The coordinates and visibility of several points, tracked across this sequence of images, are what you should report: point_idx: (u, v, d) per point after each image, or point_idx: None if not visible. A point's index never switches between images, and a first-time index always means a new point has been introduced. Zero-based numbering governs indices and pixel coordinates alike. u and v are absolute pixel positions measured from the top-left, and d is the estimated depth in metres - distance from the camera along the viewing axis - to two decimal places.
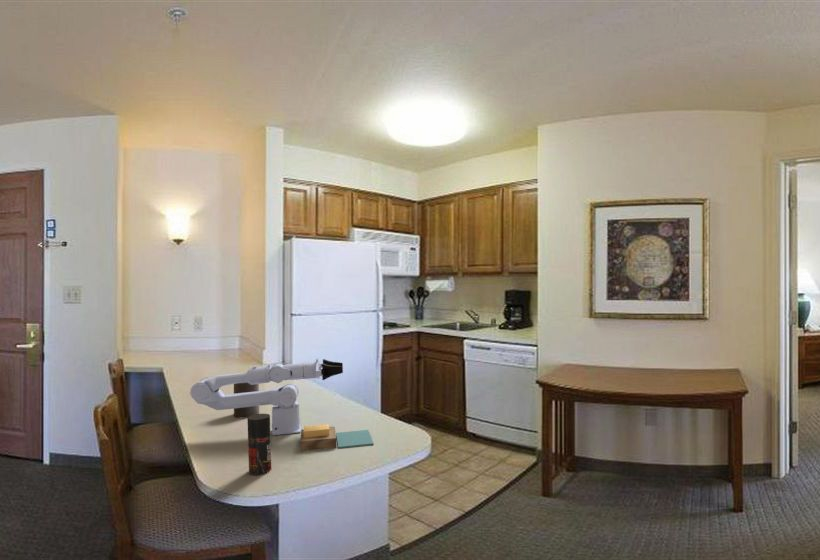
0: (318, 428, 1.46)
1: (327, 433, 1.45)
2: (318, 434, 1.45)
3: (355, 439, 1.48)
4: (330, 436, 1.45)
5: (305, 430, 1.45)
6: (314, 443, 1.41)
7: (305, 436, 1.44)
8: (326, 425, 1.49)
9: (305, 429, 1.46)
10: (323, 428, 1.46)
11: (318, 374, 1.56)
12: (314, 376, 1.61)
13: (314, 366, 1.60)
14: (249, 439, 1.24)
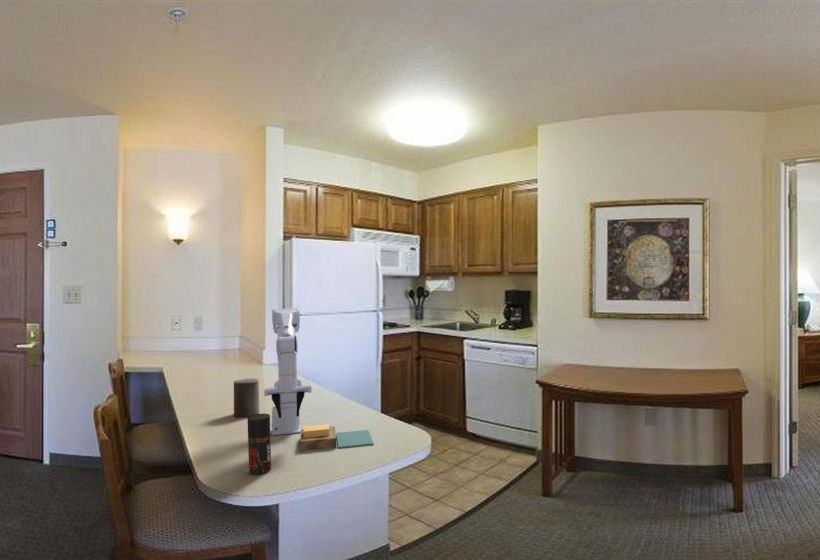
0: (318, 428, 1.46)
1: (327, 433, 1.45)
2: (318, 434, 1.45)
3: (355, 439, 1.48)
4: (330, 436, 1.45)
5: (305, 430, 1.45)
6: (314, 443, 1.41)
7: (305, 436, 1.44)
8: (326, 425, 1.49)
9: (305, 429, 1.46)
10: (323, 428, 1.46)
11: None
12: None
13: (280, 387, 1.43)
14: (249, 439, 1.24)
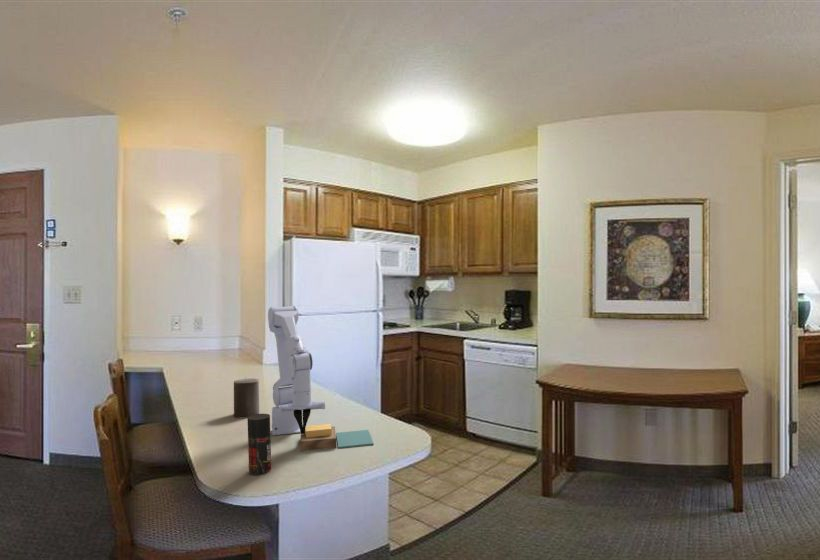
0: (321, 428, 1.46)
1: (329, 433, 1.45)
2: (320, 434, 1.45)
3: (355, 439, 1.48)
4: (330, 436, 1.45)
5: (307, 430, 1.45)
6: (314, 443, 1.41)
7: (307, 436, 1.44)
8: (328, 425, 1.49)
9: (307, 429, 1.46)
10: (325, 428, 1.46)
11: None
12: None
13: (294, 403, 1.44)
14: (249, 439, 1.24)
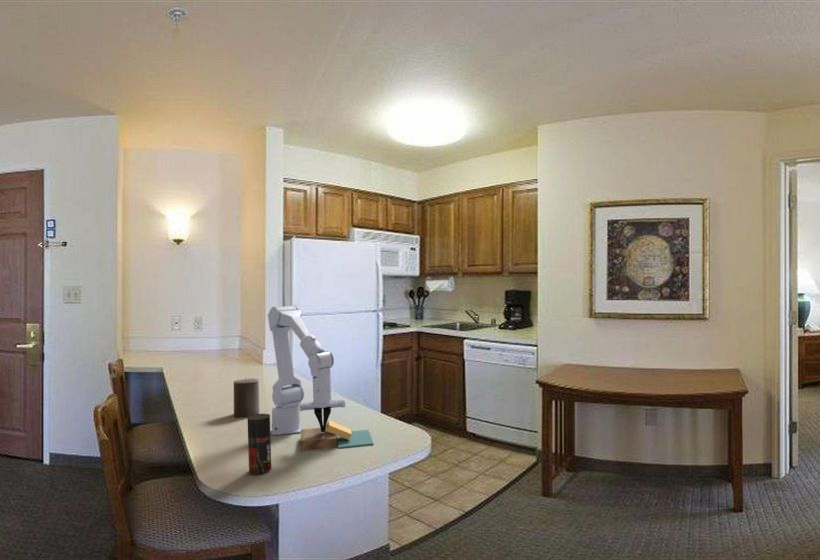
0: (342, 429, 1.47)
1: (348, 437, 1.47)
2: (340, 434, 1.46)
3: (355, 439, 1.48)
4: (330, 436, 1.45)
5: (330, 424, 1.46)
6: (314, 443, 1.41)
7: (328, 430, 1.45)
8: (348, 429, 1.51)
9: (330, 424, 1.47)
10: (346, 431, 1.48)
11: None
12: None
13: (315, 402, 1.46)
14: (249, 439, 1.24)
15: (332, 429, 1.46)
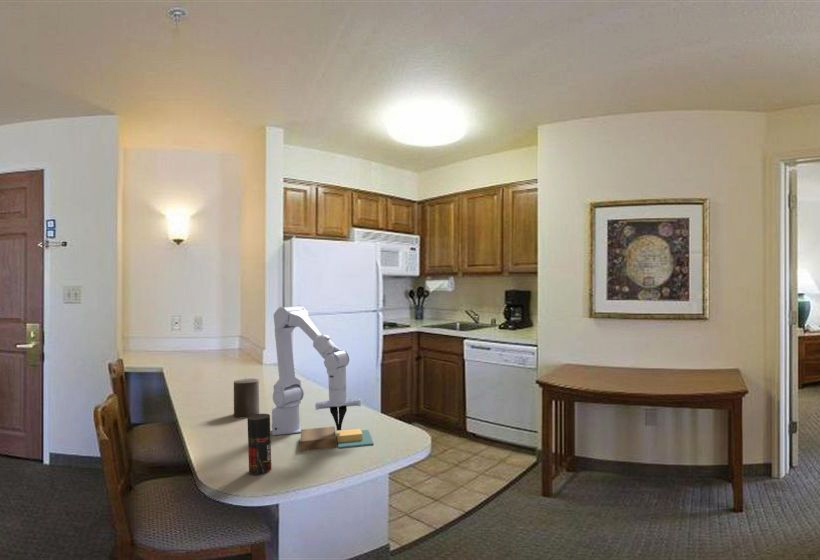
0: (352, 433, 1.48)
1: (360, 438, 1.47)
2: (351, 439, 1.47)
3: None
4: (330, 436, 1.45)
5: (339, 435, 1.47)
6: (314, 443, 1.41)
7: (339, 441, 1.46)
8: (358, 430, 1.51)
9: (338, 434, 1.48)
10: (356, 433, 1.48)
11: None
12: None
13: (331, 400, 1.47)
14: (249, 439, 1.24)
15: (342, 438, 1.46)
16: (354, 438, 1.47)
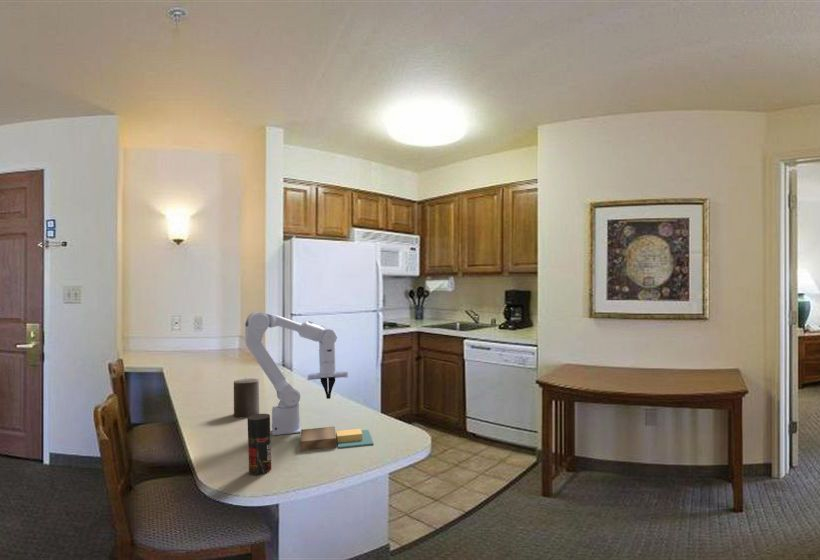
0: (352, 433, 1.48)
1: (360, 438, 1.47)
2: (351, 439, 1.47)
3: None
4: (330, 436, 1.45)
5: (339, 435, 1.47)
6: (314, 443, 1.41)
7: (339, 441, 1.46)
8: (358, 430, 1.51)
9: (338, 434, 1.48)
10: (356, 433, 1.48)
11: None
12: None
13: (321, 372, 1.66)
14: (249, 439, 1.24)
15: (342, 438, 1.46)
16: (354, 438, 1.47)
